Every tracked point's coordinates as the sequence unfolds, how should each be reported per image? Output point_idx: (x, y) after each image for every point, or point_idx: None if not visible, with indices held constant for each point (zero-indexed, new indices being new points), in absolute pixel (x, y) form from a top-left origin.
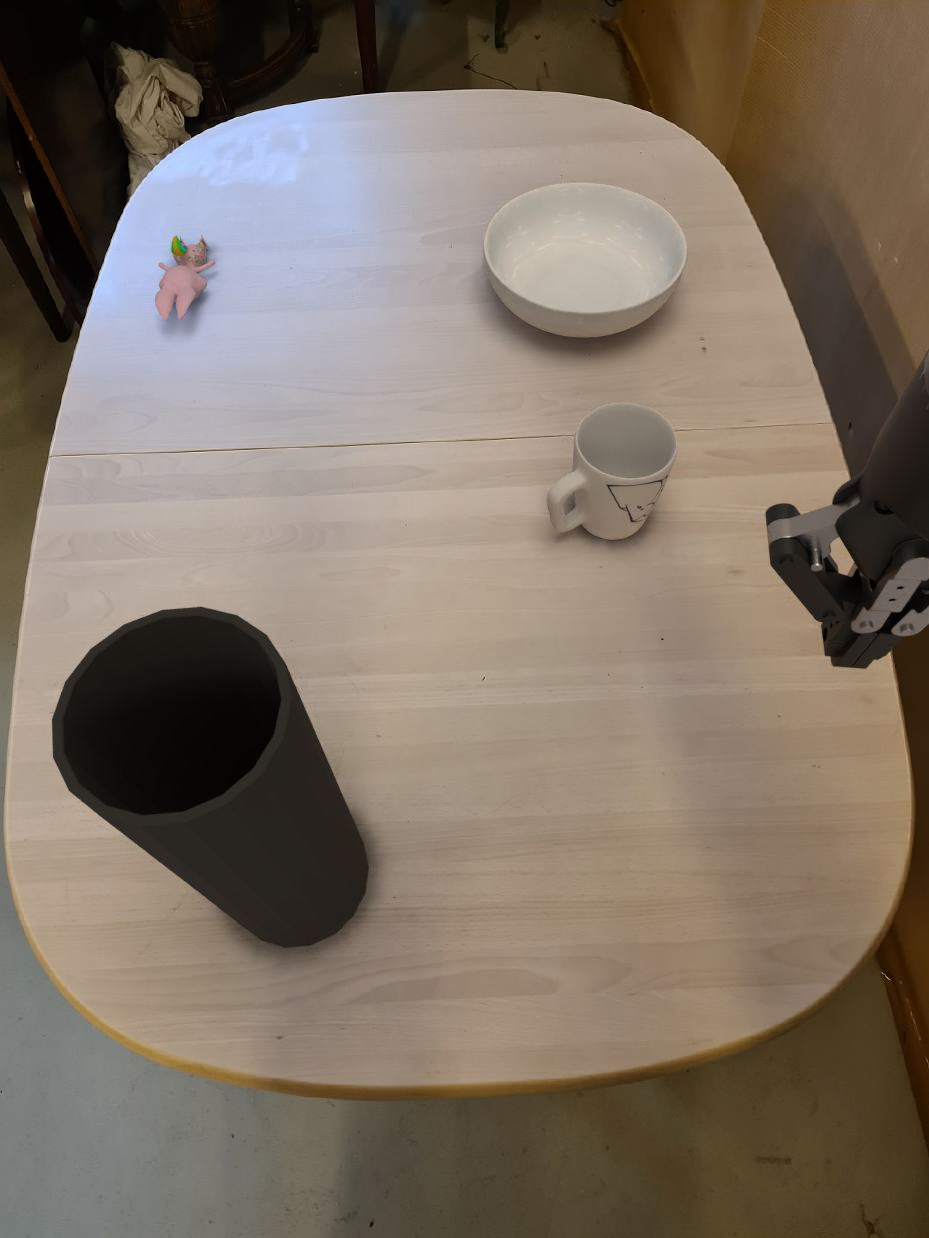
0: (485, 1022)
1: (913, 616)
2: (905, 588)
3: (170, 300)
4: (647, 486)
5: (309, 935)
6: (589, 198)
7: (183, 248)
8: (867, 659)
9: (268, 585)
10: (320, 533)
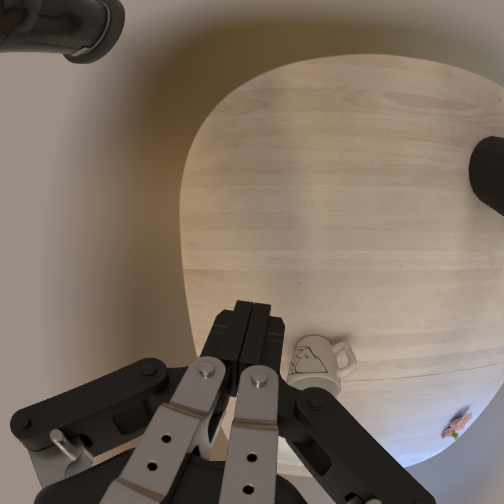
0: (419, 83)
1: (203, 397)
2: (239, 487)
3: (466, 419)
4: (305, 370)
5: (500, 139)
6: (294, 460)
7: (454, 436)
8: (239, 315)
9: (478, 313)
10: (451, 337)
